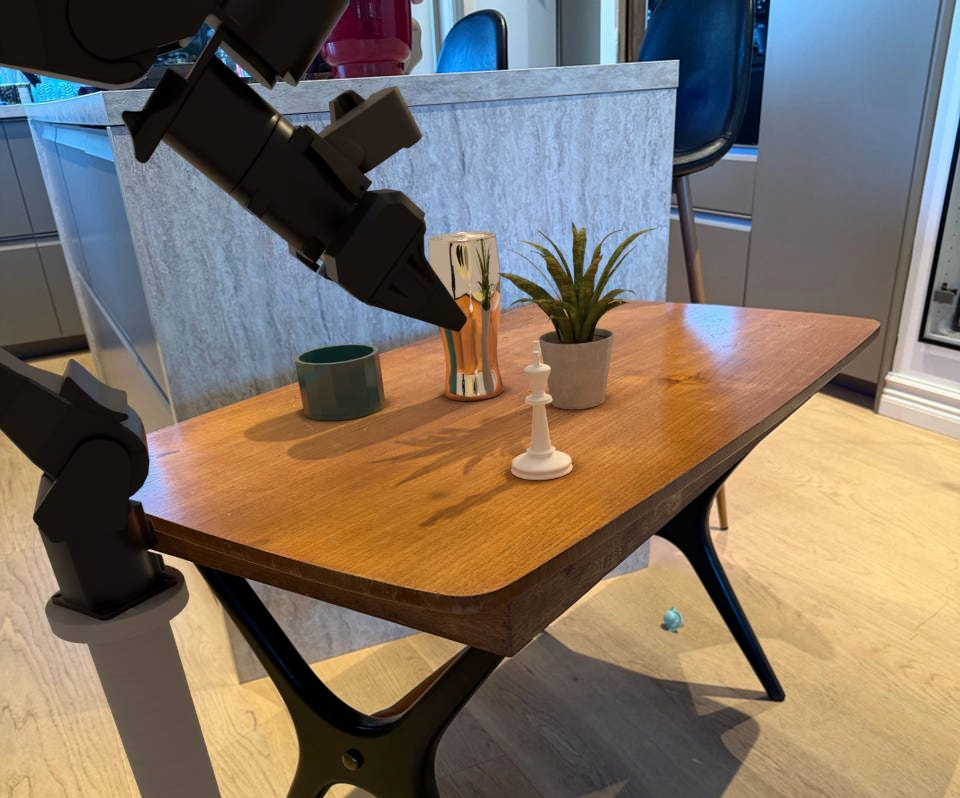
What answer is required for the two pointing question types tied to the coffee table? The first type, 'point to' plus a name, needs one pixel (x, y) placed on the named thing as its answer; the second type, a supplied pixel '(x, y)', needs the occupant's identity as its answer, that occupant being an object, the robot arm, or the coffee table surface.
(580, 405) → the house plant
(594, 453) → the coffee table surface
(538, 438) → the chess piece
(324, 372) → the pot
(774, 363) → the coffee table surface
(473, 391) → the beer glass
